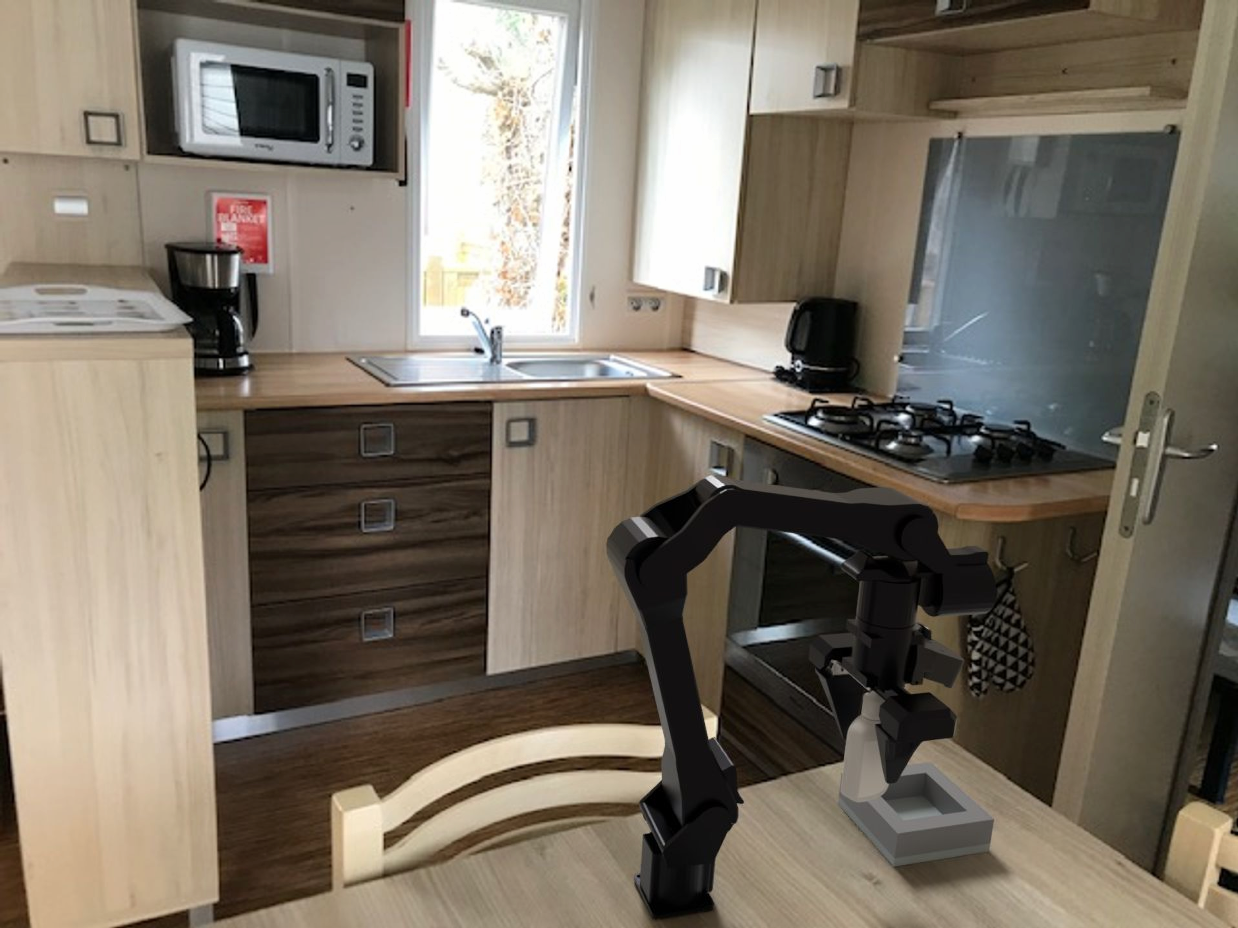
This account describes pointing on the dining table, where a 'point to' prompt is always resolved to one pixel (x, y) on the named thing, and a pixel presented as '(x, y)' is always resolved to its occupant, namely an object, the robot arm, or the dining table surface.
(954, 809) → the holder block
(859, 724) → the eye dropper bottle
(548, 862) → the dining table surface
